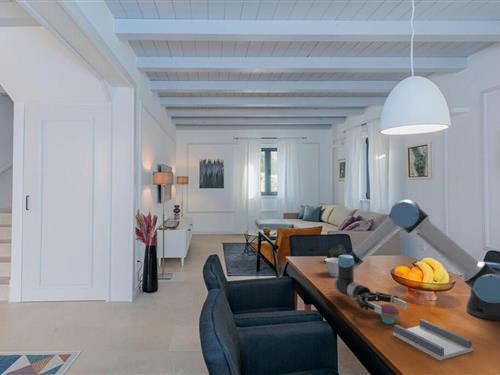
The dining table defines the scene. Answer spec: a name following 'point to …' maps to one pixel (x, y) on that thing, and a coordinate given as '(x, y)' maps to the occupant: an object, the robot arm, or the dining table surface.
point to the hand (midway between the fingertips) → (393, 308)
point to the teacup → (332, 266)
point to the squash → (336, 251)
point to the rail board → (434, 340)
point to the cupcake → (389, 312)
